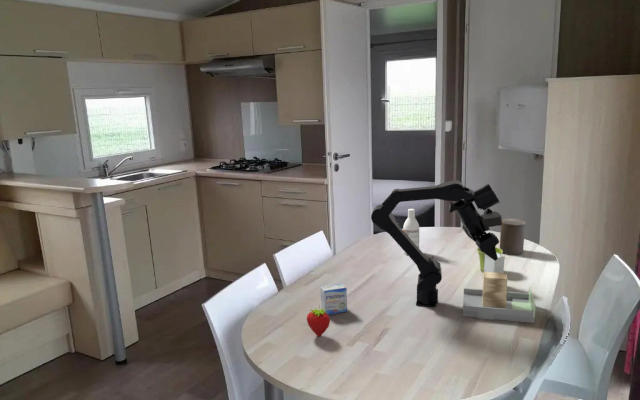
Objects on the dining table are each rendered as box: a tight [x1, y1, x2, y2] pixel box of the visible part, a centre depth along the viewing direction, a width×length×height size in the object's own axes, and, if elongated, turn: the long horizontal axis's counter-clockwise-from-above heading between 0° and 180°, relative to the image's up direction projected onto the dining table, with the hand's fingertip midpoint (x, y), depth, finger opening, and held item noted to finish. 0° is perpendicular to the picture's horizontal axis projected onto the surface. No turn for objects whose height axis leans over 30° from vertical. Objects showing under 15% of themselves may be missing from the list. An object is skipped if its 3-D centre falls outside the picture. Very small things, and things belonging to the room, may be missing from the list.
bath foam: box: [402, 208, 420, 256], centre depth 210 cm, size 7×7×20 cm
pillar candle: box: [499, 218, 526, 256], centre depth 207 cm, size 10×10×15 cm
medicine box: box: [320, 283, 348, 316], centre depth 159 cm, size 8×4×9 cm, turn 105°
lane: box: [462, 286, 537, 324], centre depth 155 cm, size 21×14×6 cm, turn 73°
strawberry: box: [306, 305, 331, 337], centre depth 143 cm, size 6×8×10 cm
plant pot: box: [476, 246, 503, 273], centre depth 188 cm, size 9×9×9 cm
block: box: [482, 272, 508, 309], centre depth 154 cm, size 7×5×10 cm
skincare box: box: [484, 253, 505, 273], centre depth 173 cm, size 6×4×12 cm
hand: (491, 254), depth 158 cm, fingers open, 9 cm apart
